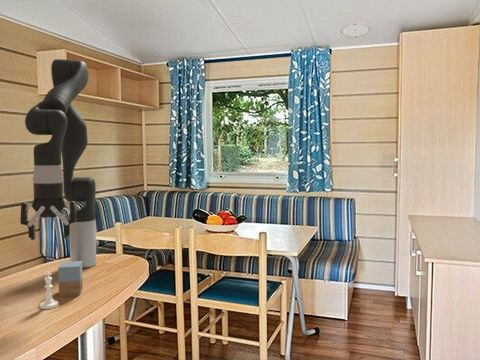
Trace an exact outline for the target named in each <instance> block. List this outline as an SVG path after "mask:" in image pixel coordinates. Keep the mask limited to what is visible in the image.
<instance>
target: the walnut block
mask: <svg viewBox="0 0 480 360" xmlns="http://www.w3.org/2000/svg"><path fill="white" fill-rule="evenodd" d="M83 286H84V285H83V276H82V277H81V280H80V281H70V282H59V281H58V297H60V298H61V297H62V298H63V297H73V296H81V294H82V292H83Z"/></svg>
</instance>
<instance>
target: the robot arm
mask: <svg viewBox="0 0 480 360" xmlns="http://www.w3.org/2000/svg"><path fill="white" fill-rule="evenodd" d="M50 67H51V70H50V71H51V72H50V73H51V81H52V86H53V87H52V88H51V89H49V90H48V92H47V93H46V95H45V96H44V98H43V100H42V101H40V102H38V103H37V104H35V105H34V106H33V107H31V108H30V109H29V110H28V112H27V114H26V115H25V118H24V124H25V129H26V130H27V131H28V132H29V133H30V134H32V135H35V136H51V138H50V139H49V141H47V142H44V143H38V144H36V145H34V147H33V171H32V181H33V183H32V184H33V202H27V201H24V202H22V203H21V204H20V224H21V225H24V226H27V228H28V230H27V231H28V232H27V233H28V238H29V239H30V240H31V241H34V240H36V225H35V223H36V222H37V221H38V219H40V217H41V218H42V219H45V218H52V219H53V218H56V217H57V218H58V220H60V221H61V222H62V223H63V224H64V225H63V238H64V239H68V238H69V262H71V261H82V269H85V268H90V267H94V266H96V264H97V232H96V230H97V229H96V189H97V187H96V182H95V179H94V177H92V176H91V177H89V176H74V171H75V167H76V165H77V164H78V161H79V159H81V156H82V155H83V153H84V152H85V150H86V148H87V146H88V141H89V139H88V127H87V123H86V122H85V120H84V118H83V117H82V116H81V114H80V113H79V112H78V110H76V108H75V107H74V105H73V103H72V102H73V101H74V100H75V98H76V97H78V96H79V95H80V94H81V92H82V91H83V90H84V89H85V88H86V86H87V84H88V82H89V69H88V66H87V64H86V62H84V61H83V60H79V59H61V58H60V59H59V58H58V59H54V60H53V61H52V62H51V66H50ZM64 199H65V200H66V201H65V200H64ZM76 203H85V204H84V206H83V207H81V208H79V209H76V207H77V205H76ZM65 207H67V210H70V211H69V215H68V217H67V216H66V214H65V213H64V212H63V209H64V208H65ZM31 208H32V209H33V210H34V211H35V213H34V215H32V217H31V218H30V220H28V212H29V211H30V210H31Z"/></svg>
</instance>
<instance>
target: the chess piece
mask: <svg viewBox="0 0 480 360" xmlns="http://www.w3.org/2000/svg"><path fill="white" fill-rule="evenodd" d="M44 276H45V278H44V279H43V280H44V283H45V285H44V288H45V289H46V292H45V293H46V295H45V300H44V301H42V302H41V303H40V304H39V309H41V310H51V309H54V308H56V307H58V306H59V304H60V303H59V301H58V300H55V299H54V298H53V296H52V291H51V290H52V289H51V288H53V286H54V285H52V280H53V277H52V273H51V272H50V270H47V271H46V273H44Z"/></svg>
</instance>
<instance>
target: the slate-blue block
mask: <svg viewBox="0 0 480 360" xmlns="http://www.w3.org/2000/svg"><path fill="white" fill-rule="evenodd" d="M57 268H58V272H57V273H58V283H59V282H70V281H80V280H81V277H82V278H83V274H84V273H83V268H82V261H71V262H70V261H61V263H60V264H59V266H58V267H57Z"/></svg>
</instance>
